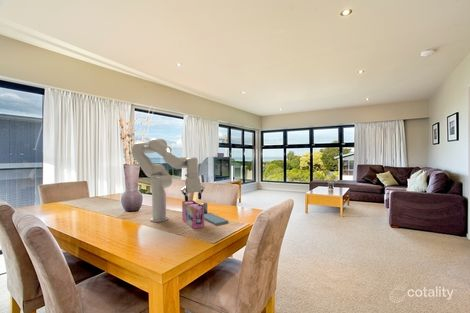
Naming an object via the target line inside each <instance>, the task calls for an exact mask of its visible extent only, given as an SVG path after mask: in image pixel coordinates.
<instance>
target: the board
mask: <svg viewBox="0 0 470 313" xmlns="http://www.w3.org/2000/svg"><path fill="white" fill-rule="evenodd" d="M204 221H206V222H208V223H210V224H212V225H214V226H220V225H224V224H228V223H229V220H228V219H225V218H224V217H222V216H219V215H218V214H217V215H216V214H215V213H213V212H209V213H208V212H207V214H204Z"/></svg>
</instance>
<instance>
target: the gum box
mask: <svg viewBox="0 0 470 313" xmlns="http://www.w3.org/2000/svg"><path fill="white" fill-rule="evenodd" d="M181 204H182V205H181V206H182V209H181V211H182V212H181V213H182V221H183V222H184V223H186V224H187V225H188V226H189V227H191V228H192V229H199V228H204V227H205V220H204V206H202V205H201V203H198V202H197V201H194V200H192V199H191V200H189V199H188V202H186V201H185V200H184V201H182V202H181Z"/></svg>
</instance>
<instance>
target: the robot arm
mask: <svg viewBox="0 0 470 313" xmlns="http://www.w3.org/2000/svg"><path fill="white" fill-rule="evenodd" d="M153 153H157V154H158V155H160V156H161V157H162V158H163V160H164V162H165V163H166V164H168V165H169V166H170V167H172V169H176V170H179V169H180V170H181V169H186V174H185V175H184V176H185V177H186V178H185V182H184V183H185V185H184V187H183V188H181V189H180V192H181V194H182V195H183V196H184V201H186V202H188V201H189V196H188V195H189V194H191V193H197V198H198V200H202V194H203V192H204V191H205V188H206V187H205V186H203V185H202V184H201V179H200V177H199V169H198V168H199V167H198V166H199V165H198V164H199V163H198V161H199V160H198V158H197V157H186V156H185V157H177V156H176V155H174V154H172V147H171V146H169V145H168V143H167V141H166V140H165V139H164V138H151V139H150V140H149V141H137V142H135V143H134V144H133V145H132V148H131V155H132V157H133V159H134V160H135V161H136V162H137V163H138V165H139V168H141V170H142V171H143V173H144V174H145V176H147V177H148V178H152V179H151V180H150V189H151V204H152V208H151V210H152V213H151V214H152V217H150V222H153V223H160V222H161V223H162V222H165V221H167V220H169V216H168V215H167V194H166V190H165V189H167V188H169V187H171V186H172V184H173V178H172V177H171V175H170V174H169V172H168V171H167V169H166V168H165V166H164V165H162V164H161V163H154V162H152V160H151V158H150V157H149V156H147V155H146V154H153Z"/></svg>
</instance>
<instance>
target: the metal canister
mask: <svg viewBox="0 0 470 313" xmlns="http://www.w3.org/2000/svg"><path fill="white" fill-rule="evenodd" d="M200 205H202V206H204V214H207V213H208V202H200Z"/></svg>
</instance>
